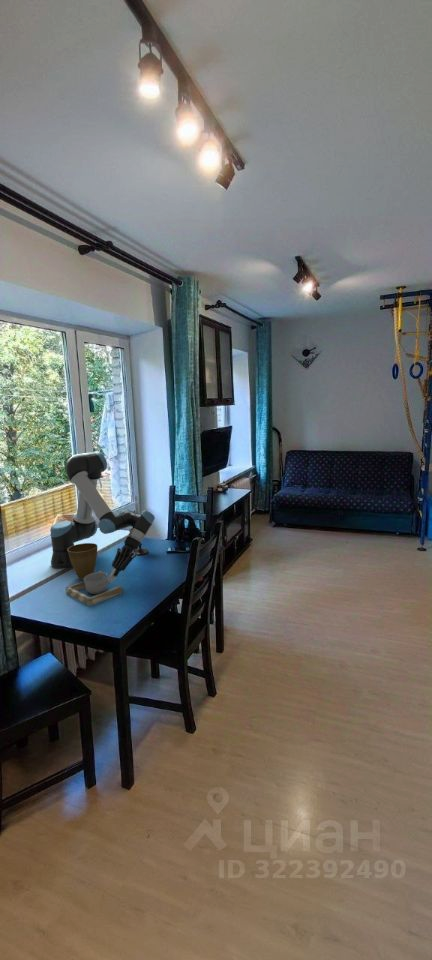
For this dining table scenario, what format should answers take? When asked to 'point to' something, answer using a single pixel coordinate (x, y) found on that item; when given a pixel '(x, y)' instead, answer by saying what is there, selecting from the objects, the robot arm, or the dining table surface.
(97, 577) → the teacup
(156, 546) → the dining table surface
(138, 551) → the candlestick
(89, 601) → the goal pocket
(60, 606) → the dining table surface
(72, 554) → the plant pot
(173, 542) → the dining table surface
